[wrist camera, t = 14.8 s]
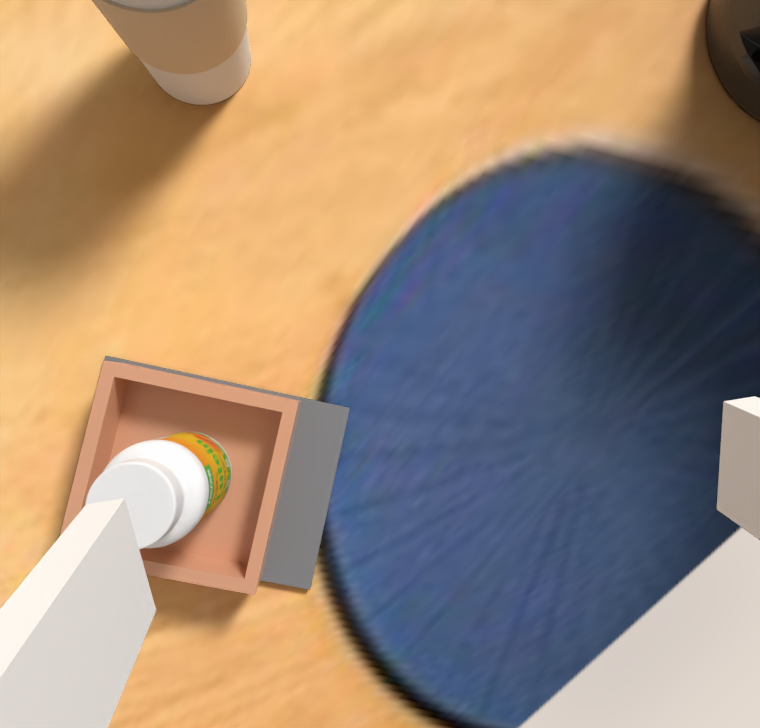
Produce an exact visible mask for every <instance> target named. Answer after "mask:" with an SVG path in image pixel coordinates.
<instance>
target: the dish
mask: <svg viewBox="0 0 760 728" xmlns="http://www.w3.org/2000/svg"><path fill="white" fill-rule="evenodd" d="M300 406H301V401H300V400H295V399H290V398H286V397H281V396H276V395H272V394H267V393H262V392H258V391H253V390H248V389H243V388H239V387H234V386H229V385H225V384H220V383H215V382H211V381H206V380H201V379H197V378H192V377H187V376H183V375H178V374H173V373H169V372H164V371H159V370H155V369H150V368H145V367H141V366H136V365H131V364H127V363H121V362H112V361H103V365H102V369H101V373H100V377H99V381H98V385H97V389H96V393H95V397H94V401H93V405H92V409H91V413H90V417H89V421H88V425H87V429H86V433H85V437H84V441H83V445H82V449H81V453H80V457H79V461H78V465H77V469H76V473H75V477H74V481H73V485H72V489H71V493H70V497H69V501H68V505H67V509H66V513H65V517H64V521H63V525H62V528H61V532H60V536H61V535H62V533H63V532H64V531H65V530H66V528H67V527H68V526H69V525H70V524H71V522H72V521H73V520H74V519H75V517H76V516H77V515H78V514H79V513H80V511H81V510H82V509H83V508H84V506H85V503H86V498H87V494H88V492H89V489H90V487H91V486H92V484H93V483H94V481H95V480H96V479H97V478H98V476H100V475H101V474H102V473H103V471H104V469H105V468H106V466H107V465H108V464H109V462H110V461H111V460H112V459H113V458H114V457H115V456H116V455H117V454H119V453H120V452H121V451H123V450H124V449H126V448H128V447H130V446H132V445H134V444H137V443H139V442H143V441H147V440H152V439H156V438H160V437H164V436H168V435H172V434H176V433H181V432H198V433H202V434H205V435H207V436H209V437H211V438H213V439H214V440H216V441H217V442H218V443H219V444H220V445H221V446H222V447H223V448H224V450H225V451H226V453H227V455H228V457H229V460H230V463H231V469H232V478H231V484H230V487H229V490H228V492H227V494H226V496H225V497H224V499H223V500H222V501H221V503H220V504H219V505H218V506H217V507H216V508H215V509H214V510H213V511H212V512H211V513H210V514H209V515H207V516H206V517H205V518H204V519H203V520H202V521H201V522H200V523H199V524H198V525H197V526H196V527H195V528H194V529H193V530H192V531H191V532H189V533H188V534H187V535H185V536H184V537H183V538H181V539H180V540H178V541H176V542H174V543H172V544H169V545H167V546H163V547H158V548H143V549H139V550H140V554H141V558H142V561H143V565H144V568H145V572H146V575H149V576H154V577H159V578H165V579H170V580H176V581H181V582H187V583H192V584H197V585H203V586H208V587H214V588H219V589H224V590H230V591H235V592H241V593H246V594H251V595H255V594H256V591H257V589H258V586H259V583H260V581H261V578H262V574H263V570H264V565H265V561H266V557H267V552H268V548H269V543H270V539H271V534H272V530H273V525H274V521H275V517H276V512H277V508H278V503H279V499H280V494H281V490H282V486H283V481H284V477H285V472H286V468H287V463H288V459H289V454H290V450H291V446H292V441H293V437H294V432H295V428H296V423H297V419H298V415H299V410H300ZM60 536H59V537H60Z"/></svg>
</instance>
